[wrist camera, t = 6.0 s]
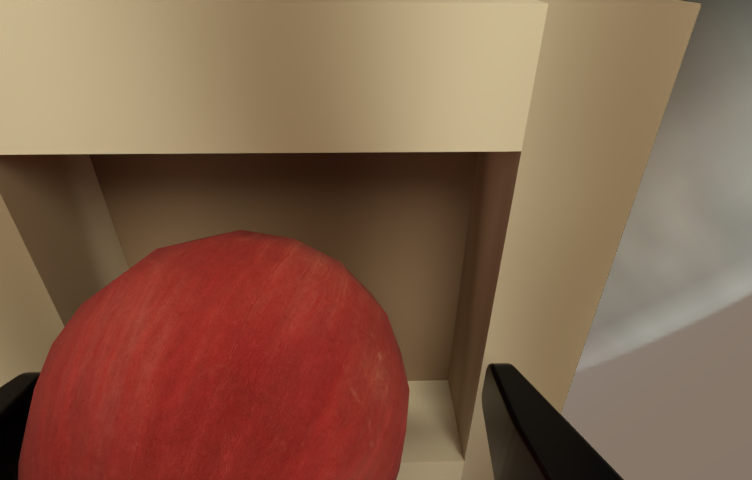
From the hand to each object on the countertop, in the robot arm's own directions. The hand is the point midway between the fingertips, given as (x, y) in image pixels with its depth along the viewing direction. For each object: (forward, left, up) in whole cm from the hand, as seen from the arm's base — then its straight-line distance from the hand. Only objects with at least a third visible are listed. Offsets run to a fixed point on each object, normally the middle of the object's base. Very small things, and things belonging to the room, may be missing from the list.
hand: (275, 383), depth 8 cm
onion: (0, 0, -3) cm, 3 cm away
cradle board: (0, 0, -5) cm, 5 cm away
